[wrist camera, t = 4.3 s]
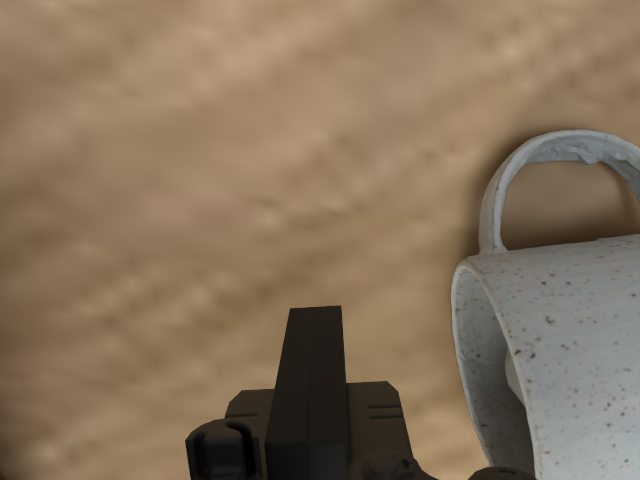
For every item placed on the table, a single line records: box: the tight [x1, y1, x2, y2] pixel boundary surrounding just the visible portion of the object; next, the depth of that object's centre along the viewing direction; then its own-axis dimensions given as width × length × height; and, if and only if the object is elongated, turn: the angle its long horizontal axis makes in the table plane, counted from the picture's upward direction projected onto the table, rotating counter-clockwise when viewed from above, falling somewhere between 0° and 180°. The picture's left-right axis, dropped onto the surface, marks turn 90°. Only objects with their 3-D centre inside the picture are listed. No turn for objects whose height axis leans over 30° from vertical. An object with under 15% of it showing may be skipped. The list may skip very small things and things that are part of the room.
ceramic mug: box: [451, 129, 640, 480], centre depth 16 cm, size 11×8×8 cm
